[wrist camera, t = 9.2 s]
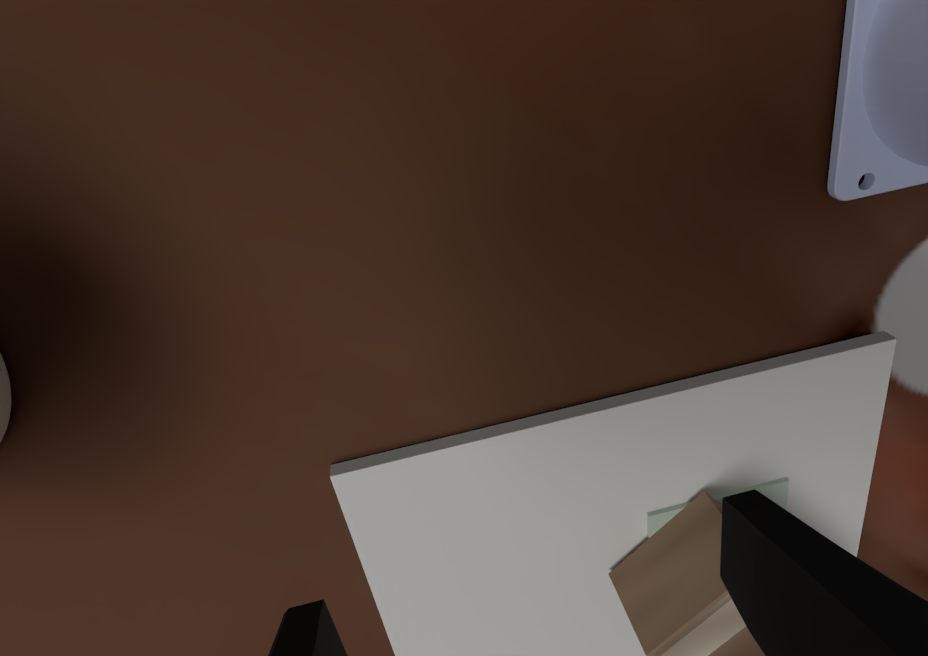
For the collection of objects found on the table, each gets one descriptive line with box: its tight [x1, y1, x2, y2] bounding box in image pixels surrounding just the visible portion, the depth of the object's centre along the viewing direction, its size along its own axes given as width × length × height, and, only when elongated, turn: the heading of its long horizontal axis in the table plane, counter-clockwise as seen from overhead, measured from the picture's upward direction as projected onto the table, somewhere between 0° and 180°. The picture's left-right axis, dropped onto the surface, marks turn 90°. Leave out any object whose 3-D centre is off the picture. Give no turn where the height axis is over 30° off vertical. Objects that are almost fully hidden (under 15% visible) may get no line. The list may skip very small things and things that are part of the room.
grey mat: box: [330, 331, 897, 656], centre depth 24 cm, size 20×15×1 cm
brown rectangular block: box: [608, 491, 765, 656], centre depth 23 cm, size 8×5×4 cm, turn 49°
